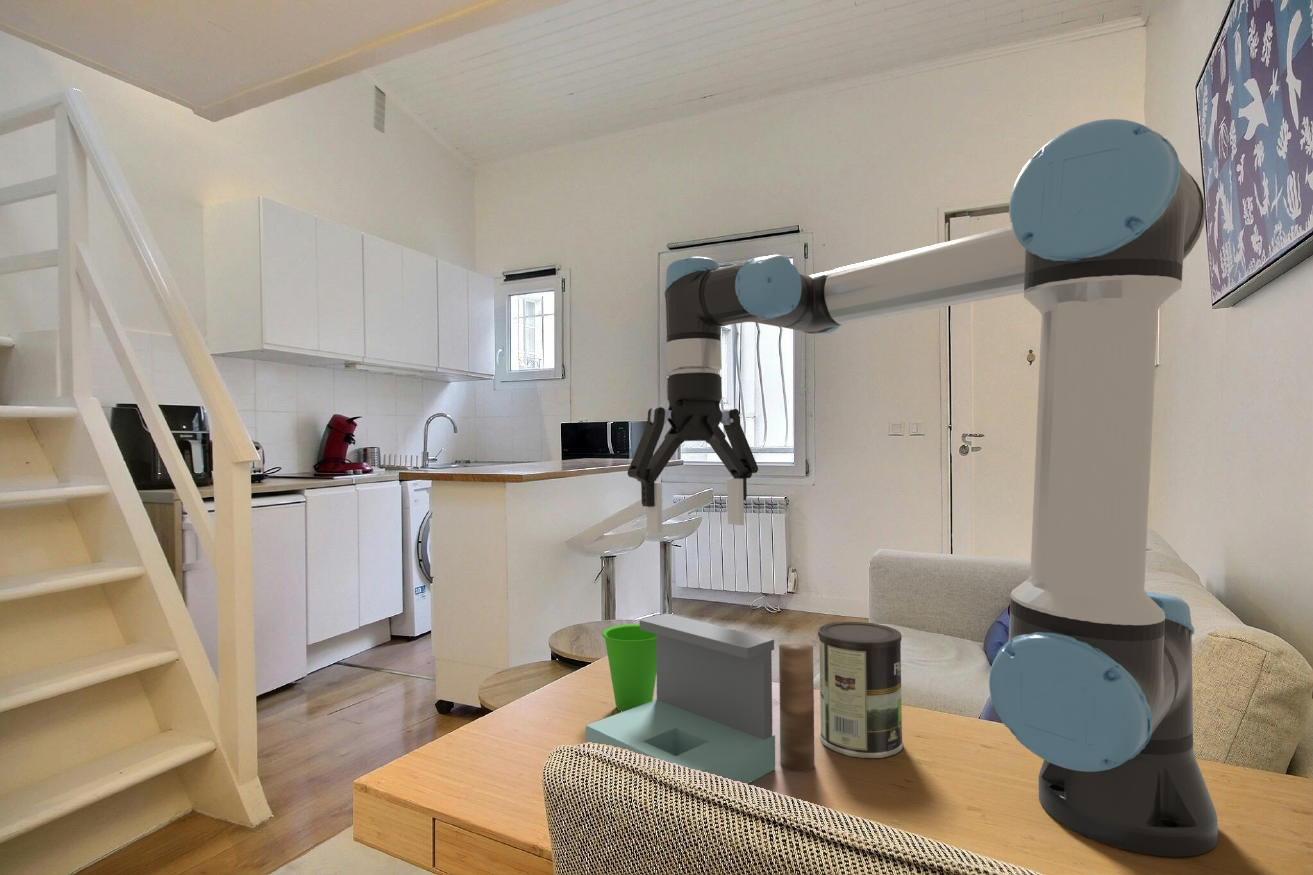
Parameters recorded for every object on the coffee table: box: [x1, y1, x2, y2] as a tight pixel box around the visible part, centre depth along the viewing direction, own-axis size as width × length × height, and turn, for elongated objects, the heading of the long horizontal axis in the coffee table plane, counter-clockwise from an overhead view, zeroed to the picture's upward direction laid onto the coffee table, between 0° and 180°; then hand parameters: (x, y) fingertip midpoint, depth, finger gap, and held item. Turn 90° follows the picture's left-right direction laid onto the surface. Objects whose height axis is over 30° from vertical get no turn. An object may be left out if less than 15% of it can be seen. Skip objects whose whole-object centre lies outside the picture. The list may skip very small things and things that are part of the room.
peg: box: [778, 641, 815, 773], centre depth 83 cm, size 4×4×14 cm
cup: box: [601, 623, 657, 712], centre depth 101 cm, size 9×9×11 cm
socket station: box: [585, 613, 776, 785], centre depth 83 cm, size 18×14×15 cm
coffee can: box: [817, 621, 904, 759], centre depth 89 cm, size 10×10×14 cm
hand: (696, 528), depth 96 cm, fingers open, 13 cm apart
